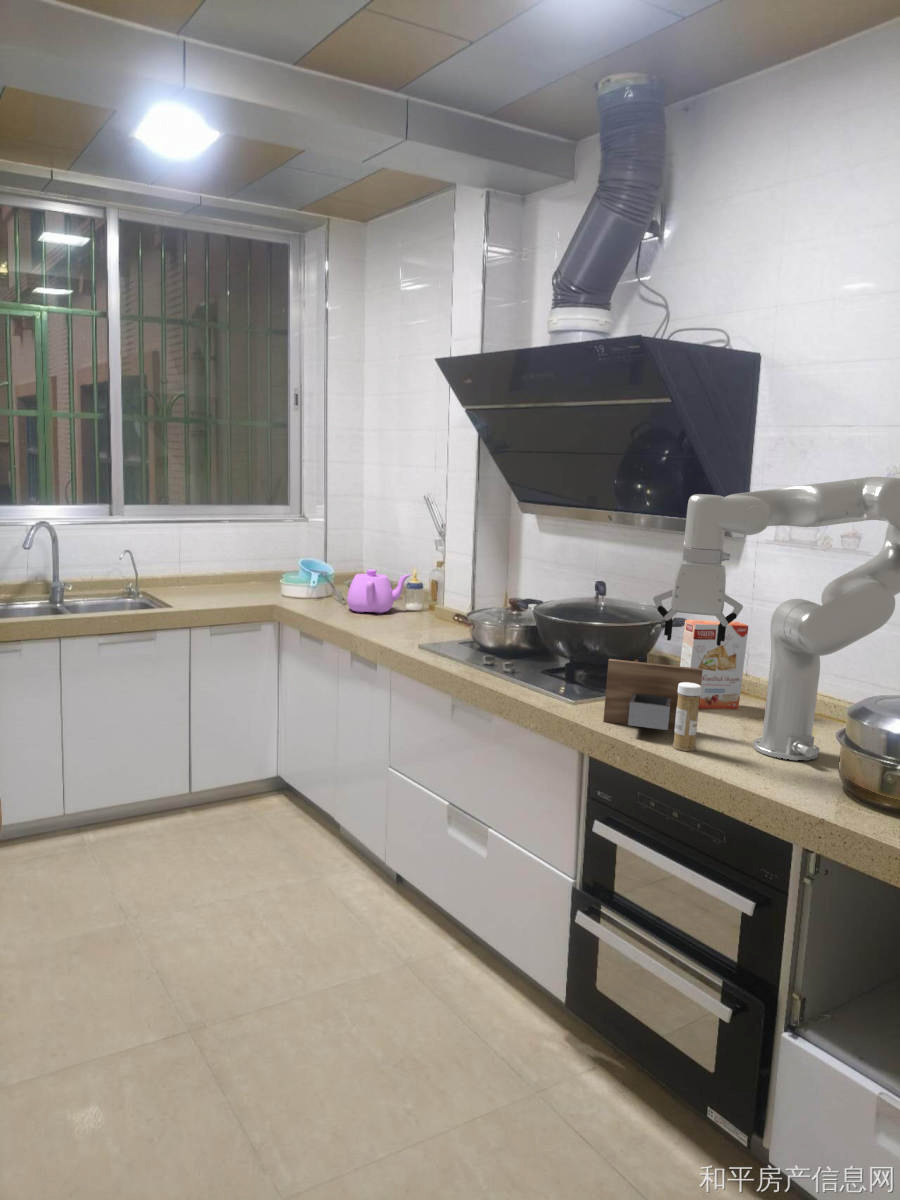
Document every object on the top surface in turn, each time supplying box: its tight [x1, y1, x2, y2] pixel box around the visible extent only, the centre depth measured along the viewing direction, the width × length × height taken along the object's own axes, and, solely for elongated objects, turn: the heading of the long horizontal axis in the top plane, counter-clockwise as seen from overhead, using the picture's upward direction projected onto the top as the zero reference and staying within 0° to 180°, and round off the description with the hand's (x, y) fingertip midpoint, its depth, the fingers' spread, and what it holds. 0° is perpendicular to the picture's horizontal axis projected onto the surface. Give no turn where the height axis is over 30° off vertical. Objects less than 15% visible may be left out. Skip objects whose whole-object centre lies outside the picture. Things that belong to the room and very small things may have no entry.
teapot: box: [346, 568, 412, 615], centre depth 327 cm, size 23×21×15 cm
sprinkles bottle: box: [672, 682, 701, 752], centre depth 185 cm, size 5×5×14 cm
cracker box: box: [679, 619, 749, 710], centre depth 219 cm, size 14×6×21 cm, turn 101°
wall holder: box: [603, 658, 703, 732], centre depth 195 cm, size 11×20×14 cm, turn 75°
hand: (693, 641), depth 183 cm, fingers open, 9 cm apart
